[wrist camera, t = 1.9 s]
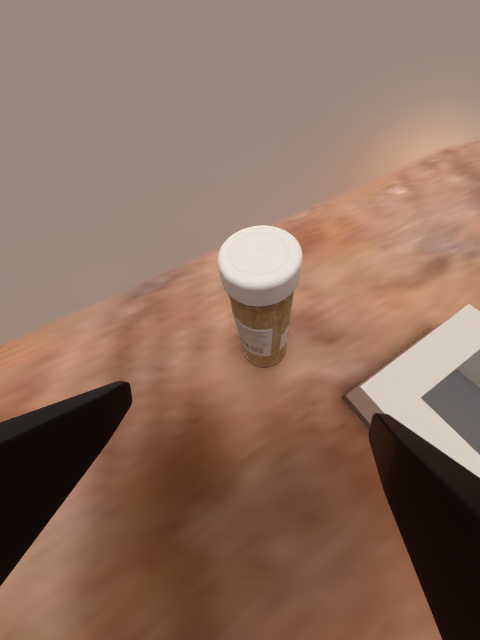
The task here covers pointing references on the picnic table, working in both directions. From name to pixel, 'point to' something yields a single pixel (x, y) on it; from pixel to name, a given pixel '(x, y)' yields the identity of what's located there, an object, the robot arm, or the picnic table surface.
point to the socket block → (433, 388)
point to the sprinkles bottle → (261, 288)
